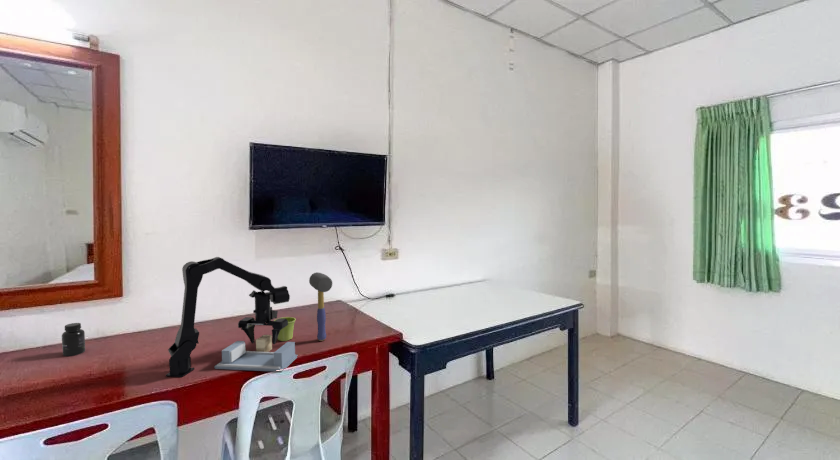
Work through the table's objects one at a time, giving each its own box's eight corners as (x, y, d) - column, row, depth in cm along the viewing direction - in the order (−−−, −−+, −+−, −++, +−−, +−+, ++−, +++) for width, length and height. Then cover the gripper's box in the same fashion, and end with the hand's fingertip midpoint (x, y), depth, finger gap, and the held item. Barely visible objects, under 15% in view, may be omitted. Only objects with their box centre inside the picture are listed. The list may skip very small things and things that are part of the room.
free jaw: (231, 364, 138) (230, 351, 138) (222, 363, 139) (221, 350, 138) (246, 353, 148) (245, 341, 148) (238, 352, 148) (237, 340, 148)
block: (264, 354, 150) (264, 340, 150) (256, 354, 150) (255, 339, 150) (272, 349, 156) (271, 335, 156) (264, 348, 156) (263, 334, 156)
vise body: (282, 371, 135) (281, 354, 134) (214, 368, 137) (213, 351, 137) (297, 357, 148) (297, 341, 147) (235, 354, 150) (235, 338, 150)
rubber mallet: (309, 337, 169) (307, 272, 167) (325, 334, 173) (324, 270, 171) (318, 346, 158) (316, 276, 156) (334, 342, 163) (333, 275, 160)
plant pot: (274, 336, 170) (273, 318, 169) (295, 334, 173) (295, 315, 173) (273, 344, 161) (273, 324, 161) (296, 341, 165) (296, 321, 164)
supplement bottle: (58, 357, 147) (56, 328, 146) (69, 351, 154) (67, 322, 153) (79, 355, 149) (77, 326, 148) (89, 349, 156) (87, 321, 155)
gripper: (293, 301, 159) (294, 337, 160) (251, 300, 161) (253, 335, 162) (280, 309, 148) (282, 347, 149) (236, 307, 150) (237, 345, 151)
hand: (263, 343), depth 153 cm, fingers open, 9 cm apart
